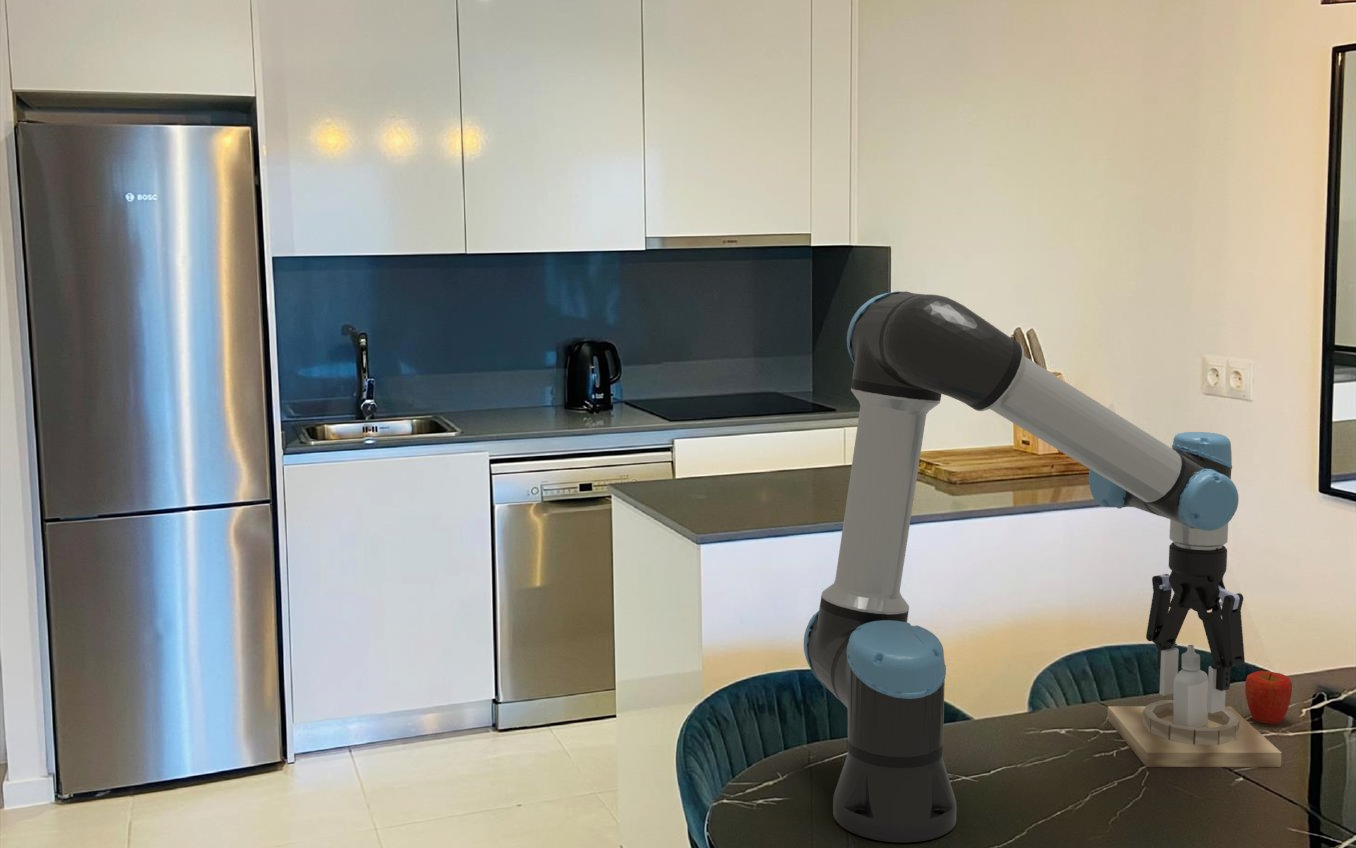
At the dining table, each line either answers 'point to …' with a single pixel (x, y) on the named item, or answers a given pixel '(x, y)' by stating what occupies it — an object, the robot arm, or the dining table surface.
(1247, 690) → the apple
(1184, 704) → the eye dropper bottle
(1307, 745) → the dining table surface
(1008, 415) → the robot arm
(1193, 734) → the socket stand
